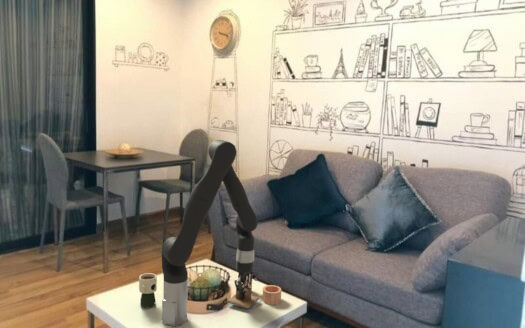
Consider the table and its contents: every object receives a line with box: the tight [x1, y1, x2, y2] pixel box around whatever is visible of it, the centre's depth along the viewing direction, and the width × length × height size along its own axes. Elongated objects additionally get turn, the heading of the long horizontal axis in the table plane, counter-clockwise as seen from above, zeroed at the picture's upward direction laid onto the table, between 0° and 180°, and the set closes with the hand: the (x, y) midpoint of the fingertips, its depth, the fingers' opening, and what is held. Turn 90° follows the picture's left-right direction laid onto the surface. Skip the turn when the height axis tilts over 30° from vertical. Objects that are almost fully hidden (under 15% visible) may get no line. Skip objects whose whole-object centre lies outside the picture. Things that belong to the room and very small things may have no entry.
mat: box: [226, 300, 261, 314], centre depth 186 cm, size 11×11×1 cm
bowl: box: [261, 284, 282, 306], centre depth 190 cm, size 8×8×6 cm
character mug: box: [138, 272, 158, 309], centre depth 182 cm, size 11×7×13 cm, turn 175°
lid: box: [227, 286, 260, 308], centre depth 185 cm, size 10×10×6 cm
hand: (243, 297), depth 186 cm, fingers closed on lid, 2 cm apart
